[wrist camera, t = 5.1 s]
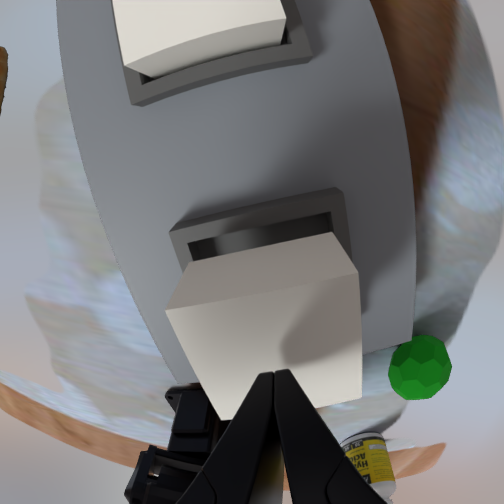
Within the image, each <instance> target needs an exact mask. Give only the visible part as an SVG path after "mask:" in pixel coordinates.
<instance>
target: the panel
mask: <svg viewBox="0 0 504 504" xmlns="http://www.w3.org/2000/svg"><path fill="white" fill-rule="evenodd" d="M280 1H281V4H282V7H283V10H284V13H285V16H286V22H285V26H284V31H283V35H282V40H281V44H280V46H274V47H269V48H264V49H259V50H254V51H249V52H245V53H240V54H236V55H232V56H228V57H224V58H220V59H217V60H213V61H210V62H206V63H203V64H199V65H196V66H193V67H190V68H187V69H184V70H181V71H178V72H175V73H172V74H169V75H166V76H164V77H161V78H158V79H154V78H152V77H150V76H147V75H145V74H143V73H140V72H138V71H136V70H133V69H131V68H129V67H126V66H124V62H123V58H122V53H121V48H120V42H119V37H118V32H117V26H116V20H115V14H114V8H113V1H112V0H56V6H57V23H58V36H59V45H60V54H61V61H62V69H63V76H64V82H65V88H66V93H67V99H68V104H69V109H70V114H71V118H72V123H73V127H74V131H75V135H76V139H77V143H78V147H79V151H80V155H81V159H82V162H83V166H84V169H85V173H86V176H87V179H88V183H89V186H90V189H91V192H92V195H93V198H94V201H95V204H96V207H97V210H98V213H99V216H100V219H101V222H102V224H103V227H104V230H105V233H106V235H107V238H108V240H109V243H110V246H111V248H112V251H113V253H114V256H115V258H116V261H117V263H118V265H119V268H120V270H121V273H122V275H123V277H124V279H125V282H126V284H127V286H128V288H129V291H130V293H131V295H132V297H133V299H134V302H135V304H136V306H137V308H138V310H139V312H140V314H141V316H142V318H143V320H144V322H145V324H146V326H147V328H148V330H149V332H150V334H151V336H152V338H153V340H154V342H155V344H156V346H157V348H158V349H159V351H160V353H161V355H162V357H163V359H164V360H165V362H166V364H167V366H168V368H169V369H170V371H171V373H172V375H173V376H174V378H175V380H176V381H177V383H178V384H182V383H196V382H200V381H199V380H198V378H197V376H196V374H195V372H194V370H193V368H192V366H191V364H190V362H189V360H188V358H187V356H186V354H185V352H184V350H183V348H182V346H181V344H180V342H179V340H178V338H177V336H176V334H175V332H174V329H173V327H172V325H171V323H170V321H169V319H168V316H167V314H166V312H165V309H166V307H167V305H168V303H169V301H170V299H171V297H172V295H173V293H174V291H175V289H176V287H177V285H178V283H179V281H180V279H181V277H182V275H183V273H184V271H185V269H186V267H187V265H188V263H189V262H193V261H198V260H202V259H207V258H212V257H216V256H221V255H226V254H230V253H235V252H240V251H244V250H249V249H254V248H258V247H263V246H268V245H272V244H277V243H282V242H286V241H291V240H296V239H300V238H305V237H310V236H315V235H319V234H324V233H329V232H333V234H334V235H335V237H336V238H337V240H338V241H339V243H340V244H341V246H342V248H343V249H344V251H345V252H346V254H347V255H348V257H349V258H350V260H351V262H352V263H353V265H354V266H355V268H356V269H357V271H358V274H359V287H360V303H361V325H362V355H363V354H367V353H370V352H374V351H378V350H381V349H385V348H388V347H392V346H395V345H398V344H402V343H405V342H408V341H411V340H412V330H413V320H414V307H415V290H416V220H415V203H414V190H413V179H412V170H411V162H410V154H409V147H408V140H407V134H406V128H405V123H404V117H403V112H402V107H401V102H400V98H399V93H398V89H397V85H396V81H395V77H394V73H393V69H392V66H391V62H390V58H389V55H388V52H387V48H386V45H385V42H384V39H383V36H382V33H381V30H380V27H379V24H378V21H377V18H376V16H375V13H374V10H373V8H372V5H371V3H370V0H280Z"/></svg>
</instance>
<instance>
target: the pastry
mask: <svg viewBox="0 0 504 504" xmlns="http://www.w3.org/2000/svg"><path fill="white" fill-rule="evenodd" d="M7 60H8V54H7V51H6V49H5V48H4V47H0V114H1V106H2V102H3V99H4V97H5V96H4V90H5V88H6V82H7V77H8V63H7Z"/></svg>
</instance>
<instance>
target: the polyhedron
mask: <svg viewBox="0 0 504 504" xmlns="http://www.w3.org/2000/svg"><path fill="white" fill-rule="evenodd" d="M451 368H452V365H451V362H450V359H449V356H448V353H447V350H446V348H445V345H444V343H443V342H442V341H440V340H439V339H437V338H435V337H433V336H429V335H419V336H414V337H412V340H411V341H408V342H405V343H403V344H402V345H401V346H400V347H399V348H398V349H397V350H396V351H395V352H394V353H393V355H392V359H391V363H390V367H389V372H388V376H389V380H390V383H391V386H392V388H393V389H394V391H395V392H396V393H397V394H399V395H400V396H401V397H403V398H404V399H406V400H420V399H428V398H431V397H432V396H433V395H435V394H436V393H437V392H438V391H439V390H440V389H441V388H442V387H443V386H444V385H445V384H446V383H447V381H448V379H449V376H450V373H451Z"/></svg>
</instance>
